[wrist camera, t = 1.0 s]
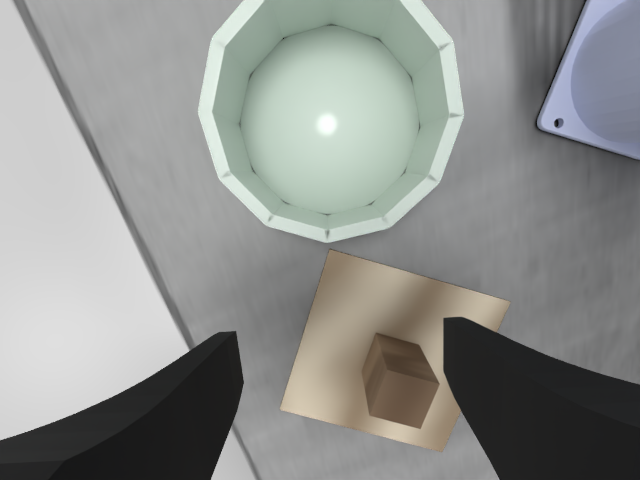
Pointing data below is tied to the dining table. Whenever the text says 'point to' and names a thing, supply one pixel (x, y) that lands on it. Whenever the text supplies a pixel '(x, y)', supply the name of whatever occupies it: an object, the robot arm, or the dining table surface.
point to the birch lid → (382, 351)
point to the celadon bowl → (331, 111)
